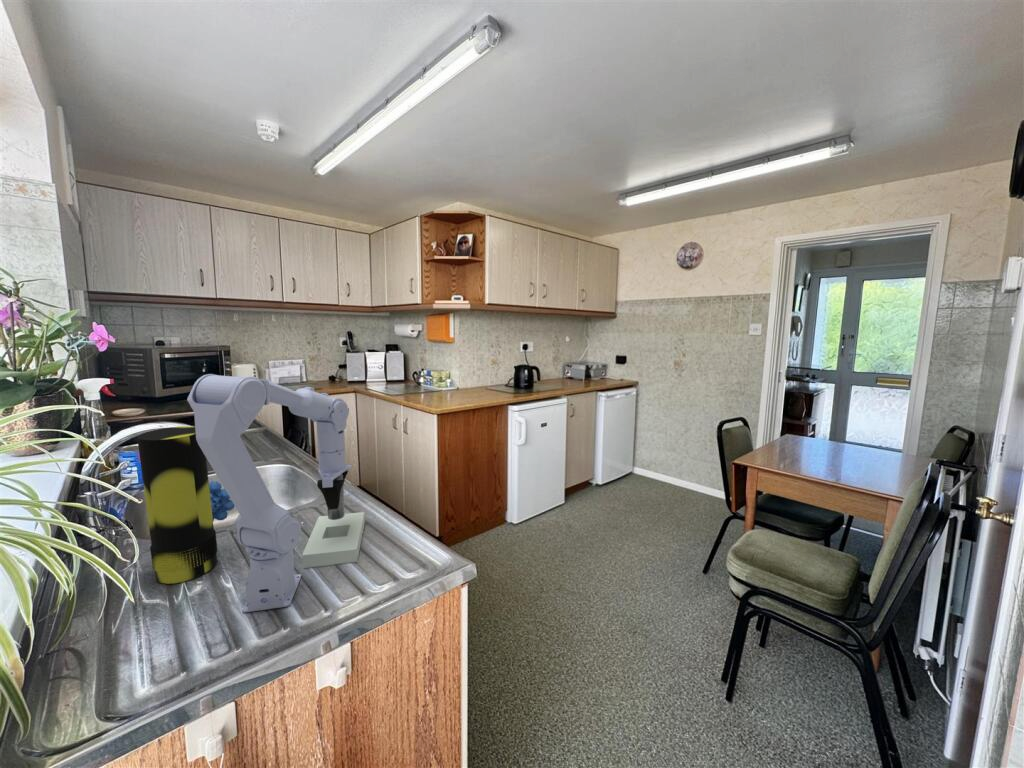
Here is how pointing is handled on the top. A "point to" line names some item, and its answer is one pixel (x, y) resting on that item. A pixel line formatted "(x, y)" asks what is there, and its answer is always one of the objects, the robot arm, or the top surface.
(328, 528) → the hole block
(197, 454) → the container
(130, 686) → the top surface
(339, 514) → the peg
